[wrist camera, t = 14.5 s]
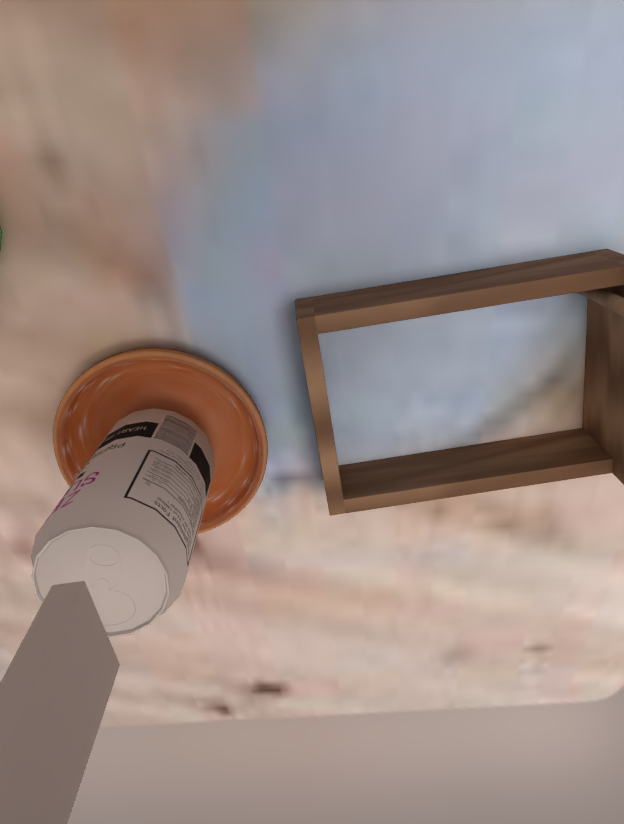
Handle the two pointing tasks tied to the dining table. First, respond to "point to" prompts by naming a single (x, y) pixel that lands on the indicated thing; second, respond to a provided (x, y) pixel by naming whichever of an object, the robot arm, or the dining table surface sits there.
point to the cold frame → (490, 462)
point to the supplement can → (130, 520)
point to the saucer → (174, 391)
